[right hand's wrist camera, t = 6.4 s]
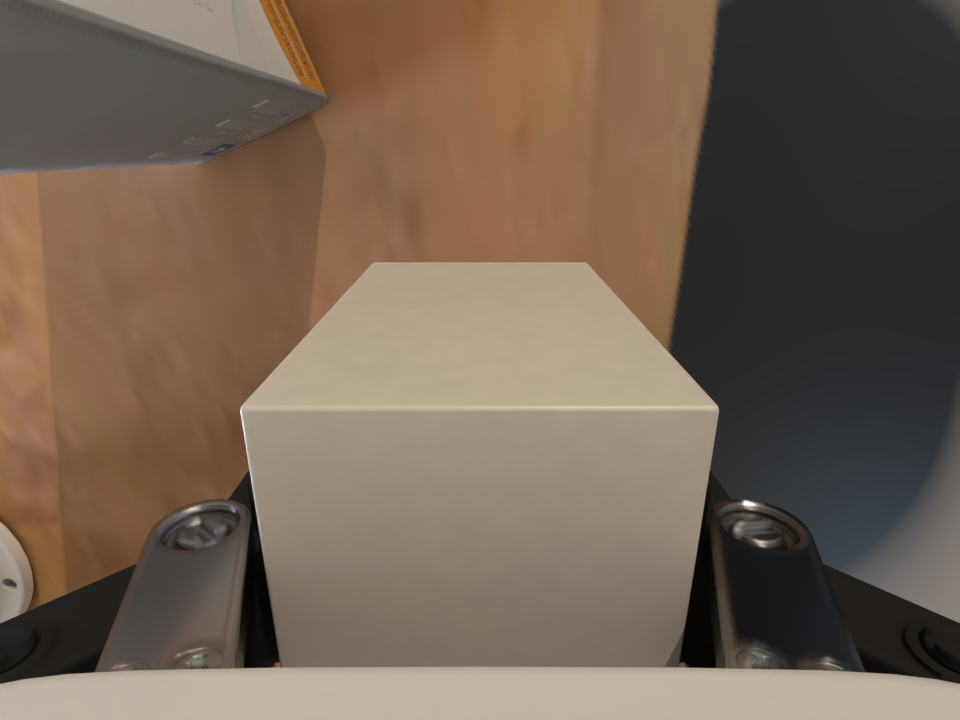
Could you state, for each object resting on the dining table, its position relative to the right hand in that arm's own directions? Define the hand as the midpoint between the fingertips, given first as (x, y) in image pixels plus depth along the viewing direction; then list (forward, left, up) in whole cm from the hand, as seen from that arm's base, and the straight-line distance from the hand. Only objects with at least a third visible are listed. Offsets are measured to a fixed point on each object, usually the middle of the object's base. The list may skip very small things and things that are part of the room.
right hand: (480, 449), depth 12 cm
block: (0, 0, -3) cm, 3 cm away
